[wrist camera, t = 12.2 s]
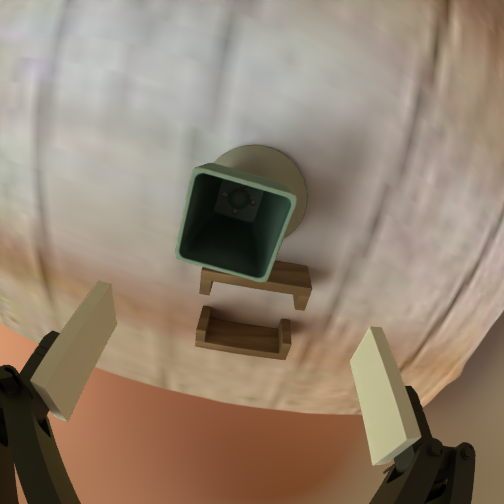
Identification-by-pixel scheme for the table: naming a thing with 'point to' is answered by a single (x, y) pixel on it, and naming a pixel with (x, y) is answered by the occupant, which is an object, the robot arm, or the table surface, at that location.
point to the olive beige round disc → (269, 173)
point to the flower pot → (234, 221)
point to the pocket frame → (249, 336)
